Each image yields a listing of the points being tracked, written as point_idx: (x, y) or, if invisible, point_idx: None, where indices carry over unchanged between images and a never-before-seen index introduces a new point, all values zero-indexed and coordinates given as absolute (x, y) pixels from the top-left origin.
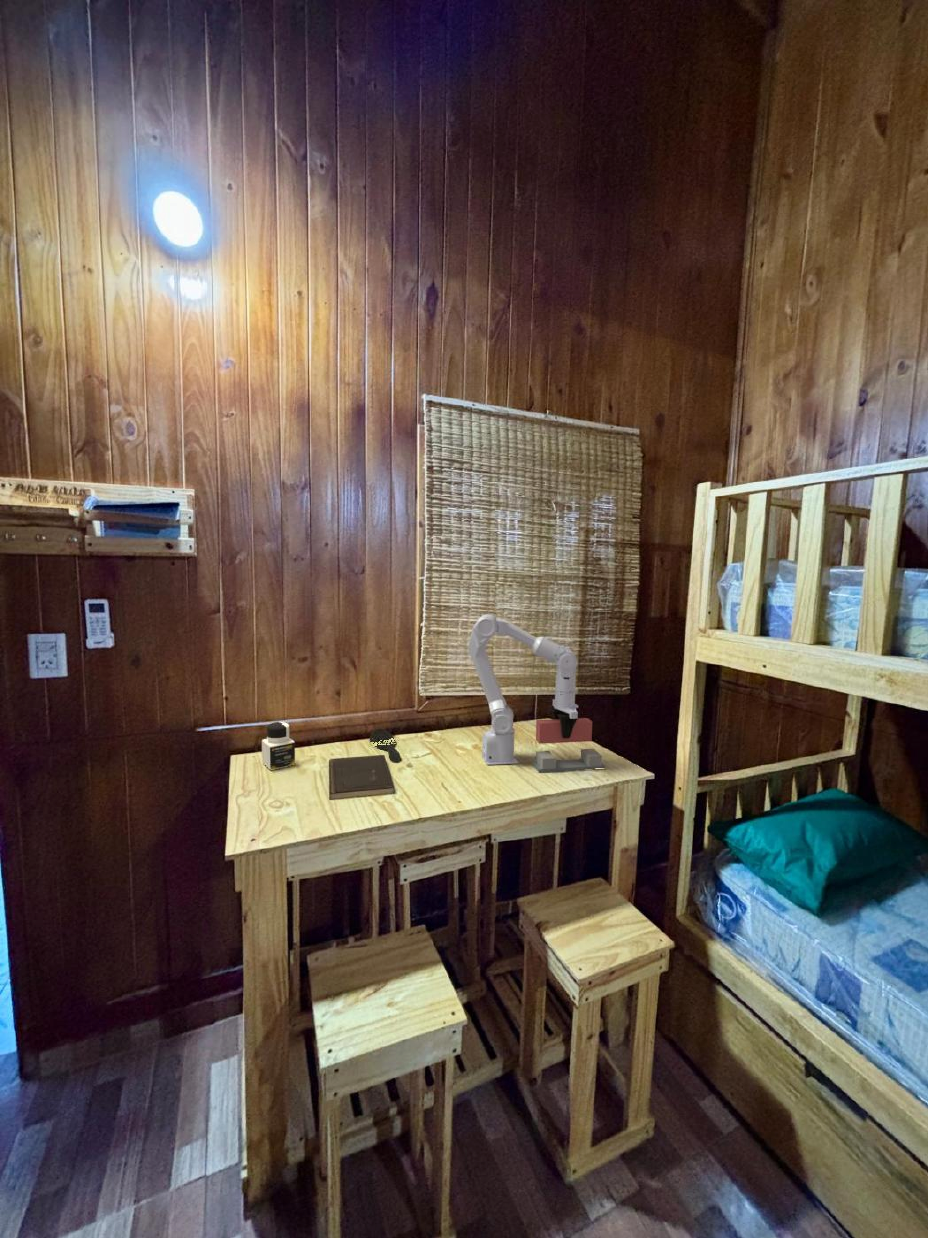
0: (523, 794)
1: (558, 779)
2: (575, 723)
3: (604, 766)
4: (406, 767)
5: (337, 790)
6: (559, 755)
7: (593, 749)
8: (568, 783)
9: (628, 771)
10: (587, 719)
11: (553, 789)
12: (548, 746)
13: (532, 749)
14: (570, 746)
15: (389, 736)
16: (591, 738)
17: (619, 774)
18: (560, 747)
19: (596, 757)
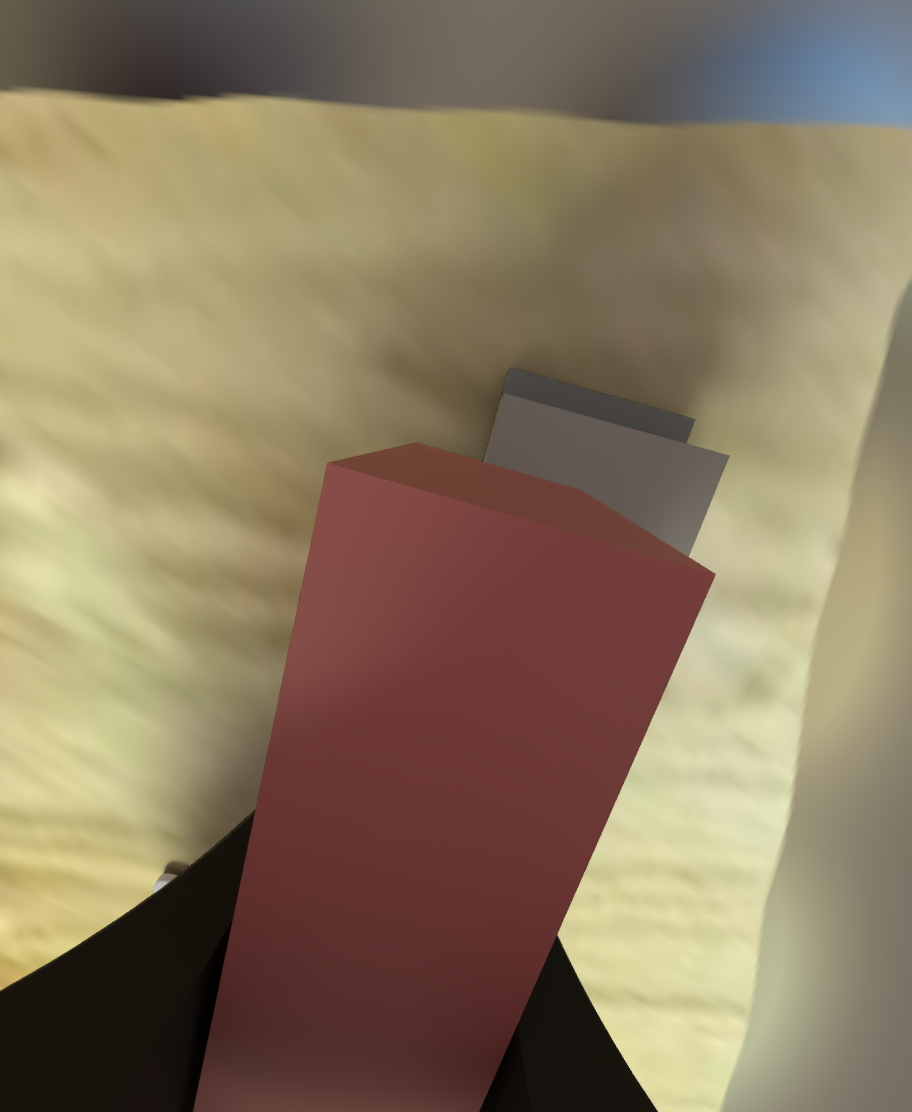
0: (716, 1081)
1: (654, 839)
2: (531, 961)
3: (689, 423)
4: None
5: None
6: (274, 577)
7: (525, 411)
8: (737, 823)
9: (834, 237)
10: (458, 568)
11: (755, 939)
12: (59, 535)
13: (99, 689)
14: (96, 342)
15: None
16: (588, 496)
17: (833, 376)
18: (102, 451)
19: (697, 519)
